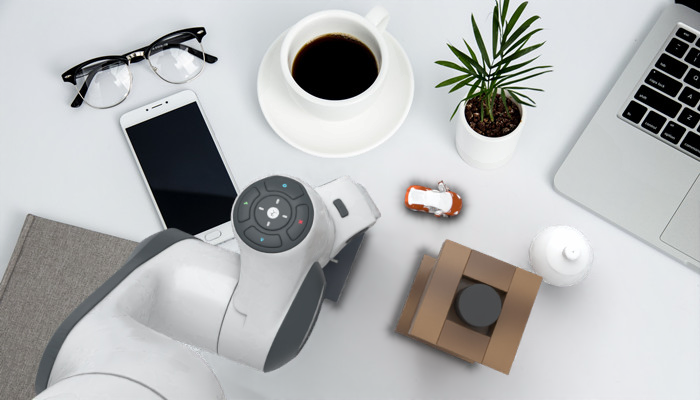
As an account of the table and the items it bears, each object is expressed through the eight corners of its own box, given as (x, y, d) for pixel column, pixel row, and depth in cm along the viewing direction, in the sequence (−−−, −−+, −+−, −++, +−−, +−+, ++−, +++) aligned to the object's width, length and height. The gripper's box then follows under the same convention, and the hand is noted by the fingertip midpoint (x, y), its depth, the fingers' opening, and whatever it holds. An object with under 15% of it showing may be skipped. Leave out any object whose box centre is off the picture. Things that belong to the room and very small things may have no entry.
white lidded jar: (520, 291, 83) (545, 287, 71) (512, 235, 84) (535, 222, 73) (577, 286, 83) (611, 281, 71) (568, 230, 84) (600, 216, 72)
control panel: (337, 303, 84) (336, 302, 80) (257, 269, 85) (253, 268, 82) (365, 235, 85) (365, 232, 82) (286, 203, 86) (283, 199, 83)
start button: (487, 332, 60) (493, 333, 57) (448, 316, 60) (452, 317, 57) (501, 294, 61) (507, 293, 58) (462, 279, 61) (467, 277, 58)
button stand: (471, 363, 81) (511, 382, 58) (394, 330, 83) (403, 337, 59) (499, 285, 83) (549, 274, 60) (423, 255, 84) (443, 232, 61)
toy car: (458, 225, 85) (461, 221, 82) (401, 213, 86) (402, 210, 82) (464, 189, 86) (468, 184, 83) (408, 178, 86) (409, 173, 83)
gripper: (227, 310, 66) (251, 311, 80) (389, 214, 68) (386, 231, 81) (200, 260, 67) (229, 269, 81) (359, 166, 69) (362, 191, 82)
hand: (308, 249), depth 81 cm, fingers closed on dial knob, 4 cm apart
